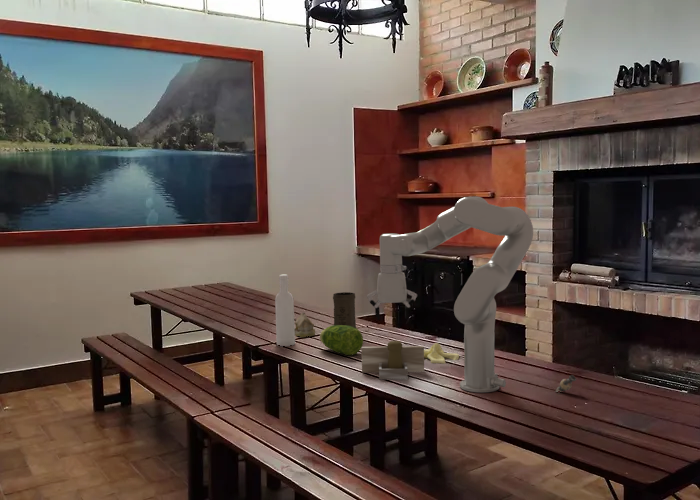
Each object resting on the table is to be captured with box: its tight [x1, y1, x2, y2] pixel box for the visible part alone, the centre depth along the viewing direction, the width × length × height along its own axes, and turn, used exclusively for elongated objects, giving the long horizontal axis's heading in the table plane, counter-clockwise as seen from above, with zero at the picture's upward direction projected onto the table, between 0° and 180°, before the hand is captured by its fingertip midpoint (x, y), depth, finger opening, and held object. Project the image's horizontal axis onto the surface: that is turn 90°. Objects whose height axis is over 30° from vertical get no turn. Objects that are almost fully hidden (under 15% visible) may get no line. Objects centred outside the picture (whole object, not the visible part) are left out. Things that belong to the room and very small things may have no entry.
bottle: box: [274, 273, 296, 347], centre depth 274 cm, size 8×8×30 cm
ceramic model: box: [294, 312, 316, 338], centre depth 296 cm, size 14×11×10 cm
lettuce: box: [319, 324, 364, 357], centre depth 260 cm, size 12×21×11 cm, turn 43°
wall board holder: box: [361, 345, 425, 380], centre depth 224 cm, size 10×22×9 cm, turn 87°
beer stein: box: [332, 291, 357, 328], centre depth 289 cm, size 15×11×20 cm
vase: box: [555, 374, 577, 392], centre depth 201 cm, size 5×5×6 cm
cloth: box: [424, 342, 460, 365], centre depth 248 cm, size 22×19×6 cm
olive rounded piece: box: [386, 340, 403, 369], centre depth 224 cm, size 6×6×11 cm
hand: (392, 318), depth 223 cm, fingers open, 9 cm apart
